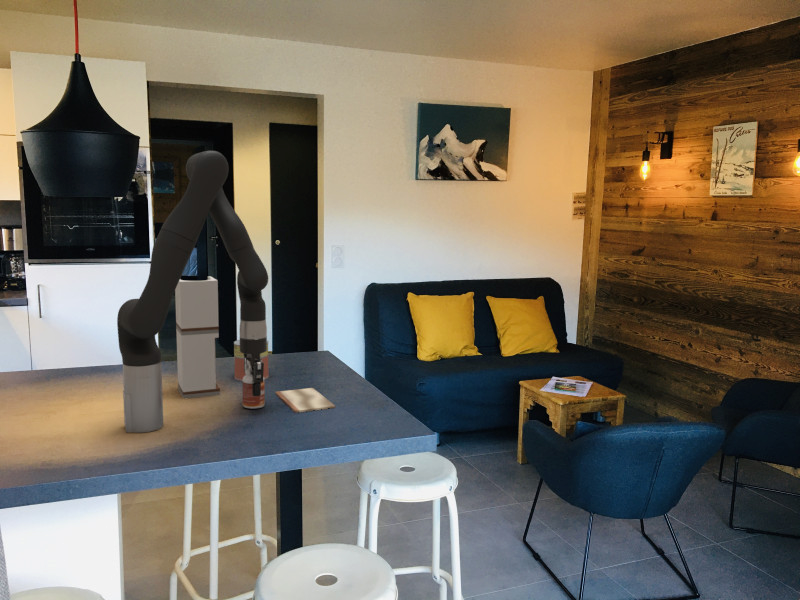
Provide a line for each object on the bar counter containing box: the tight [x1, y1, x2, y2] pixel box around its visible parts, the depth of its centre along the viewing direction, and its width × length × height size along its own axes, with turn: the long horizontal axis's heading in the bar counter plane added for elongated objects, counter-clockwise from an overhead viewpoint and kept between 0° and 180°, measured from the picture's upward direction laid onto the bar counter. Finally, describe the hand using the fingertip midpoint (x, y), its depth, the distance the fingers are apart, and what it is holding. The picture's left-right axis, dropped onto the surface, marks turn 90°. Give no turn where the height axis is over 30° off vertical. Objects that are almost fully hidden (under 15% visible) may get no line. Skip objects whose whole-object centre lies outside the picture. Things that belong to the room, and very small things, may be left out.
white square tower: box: [174, 275, 221, 400], centre depth 197 cm, size 11×11×35 cm
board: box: [274, 387, 336, 414], centre depth 193 cm, size 12×20×1 cm, turn 26°
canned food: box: [233, 339, 270, 382], centre depth 217 cm, size 11×11×12 cm
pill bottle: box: [241, 367, 266, 410], centre depth 186 cm, size 6×6×11 cm
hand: (253, 392), depth 186 cm, fingers closed on pill bottle, 6 cm apart
